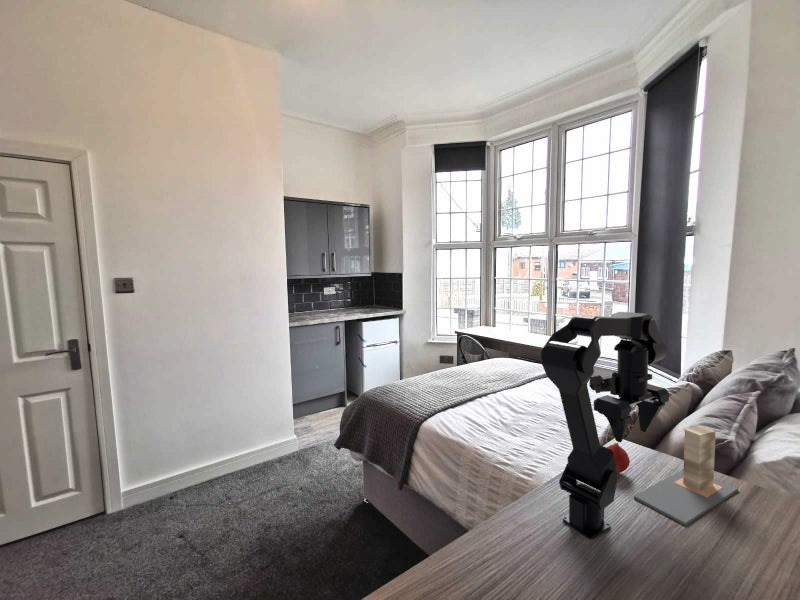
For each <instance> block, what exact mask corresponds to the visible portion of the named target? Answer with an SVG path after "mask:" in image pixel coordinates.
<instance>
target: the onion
mask: <svg viewBox="0 0 800 600" xmlns="http://www.w3.org/2000/svg"><path fill="white" fill-rule="evenodd" d="M606 448H609V449H611V450H612V451H613V453H614V461H615V463H616V465H617V466H616V467H615V468H616V472H617V475H618V474H620V473H622V472H625V471H626V470H627V469H628V468H629V467H630V465H631V463H630V461H631V460H630V456H629V455H628V453H627V452H626V450H625V449H624V448H623V447H622V446H620V444H619V442H614V443H613V444H610V445H609V446H607V447H606Z"/></svg>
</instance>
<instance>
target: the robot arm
mask: <svg viewBox="0 0 800 600" xmlns="http://www.w3.org/2000/svg"><path fill="white" fill-rule="evenodd" d="M578 336H582V337H587V338H590V340H591V341H590V342H589V344H588V346H585V345H582V344H574V343H570V342H571V341H573V340H575V339H576V338H578ZM610 336H611V337H613V336H614V337H617V338H619V339H620V341H619V342H618V343H617V344H615V345H614V347H613V350H614V351H616V352H617V370H615V371H613V372H612V373H611V375H609V376H602V375H599V374H598V375H594V372H595V369H594V367H595V365H596V363H597V361H599V359H600V356H601V346H600V343H599V342H600V341H599V340H600V339H601V337H610ZM667 354H668V347H667V345H666V343H665V342H664V341H663V339H662V336H661V333H660V331H659V328H658V325H657V322H656V320H654V319H653V315H651V314H650V313H642V312H641V313H640V312H628V311H617V312H615V313H612V314H611V316H598V315H597V316H596V315H586V314H576V315H573V316H572V317H571V318H570V320H569V321H568V323H567V324H566V325H564V326H562V327H561V328H560V329H558V330H557V331H555V332H554V333H551V336H550V337H549V338H548V340H547V341H546V342H545V345H544V346H543V347H542V349H541V352H540V361H541V362H540V363H541V364H542V367H543V370H544V372H545V375H546V377H547V378H548V379H549V380H550V381H551V382H552V383H553V384H554V387H555V386H556V388H557V389H558V392H559V397H560V400H561V404H562V407H563V412H564V417H565V421H566V424H567V429H568V433H569V437H570V440H571V446H572V450H571V451H570V452H569V455H568V457H567V463H566V464H565V465H566V466H565V467H564V469H563V472H562V474H561V476H560V478H559V481H558V484H559V487H560V490H562V491H564V492H567V493H568V494H569V497H568V502H569V503H568V507H569V508H568V514H565V515H564V516H562V521H563V522H565V523H566V524H568V526H570V527H572V528H573V529H575V530H576V531H577V532H579V533H580V534H582V535H583V536H584V537H586V538H587V539H590V540H591V539H594V538H596V537H597V536H599V535H601V534H603V533H604V532H606V531H608V530H609V529H611V528H612V524H610V523H609V522H608V521H606V520H604V519H605V508H606V507H608V506H609V505H611V504H612V503H613V502H614V501H615V495H616V490H617V485H618V481H619V477H618V474H617V472H616V468H615V467H616V466H617V465H616V463H615V461H614V453H613V451H612V450H611V449H609V448H607V447H606V446H604V445H601V443H600V439H599V438H600V437H599V433H598V429H597V425H596V421H595V415H594V411H595V412H597V413H599V414H600V415H603V417H604V416H605V418H606V419H607V421H608V424H609V426H610V428H611V431H612V434H613V437H614V439H615V441H616V443H622V441H623V440H624V437H625V435H626V433H627V430H628V427H629V424H630V421H631V420H632V419H631V418H632V416H631V413H632V406H634V405H636V406H637V411H638V421H639V429H640V431H641V432H643V433H647V432H648V430H649V428H650V426H651V425H653V422H654V420H656V417H658V414H660V412H661V410H662V409H663V408H664V407H665V406H666V403H668V402H669V401H670V393H669V391H668V390H667V389H666V387H661V386H657V385H653V384H649V381H650V380H653V374H652V373H649V365H652V364H654V363H656V362H659V361H661V360H663V359H664V358H666V356H667ZM588 383H589V384H588ZM588 386H589V388H590V389H591V390H592V391H595V394H600V393H602V392H603V393H604V392H606V393H607V392H609V394H610V395H607V394H606V395H604V396H600V397H597V398H596V399H594V400H593V405H592V402H591V395H590V393H589V388H588ZM611 395H613V396H611ZM615 396H618V397H615ZM593 410H594V411H593Z"/></svg>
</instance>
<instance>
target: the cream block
mask: <svg viewBox="0 0 800 600" xmlns="http://www.w3.org/2000/svg"><path fill="white" fill-rule="evenodd" d="M683 445H684V447H683V448H684V449H683V469H684V471H683V484H685V485H687V486H689V487H691V488H693V489H695V490H697V491H700V490H703V489H706V488H709V487H712V486H713V481H714V479H715V475H714V474H715V458H716V457H715V454H716V450H715V449H716V430H714V429H711V428H709V427H706V426H703V425H696V426H692V427H688V428H686V429H685V428H684V443H683Z"/></svg>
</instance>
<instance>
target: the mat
mask: <svg viewBox="0 0 800 600" xmlns="http://www.w3.org/2000/svg"><path fill="white" fill-rule="evenodd" d="M683 471H684V468H683V469H681V470H680V471H677V472H676V473H674V474H672V475H670V476H668V477H667V478H665V479H663V480H660V481H659V482H657V483H655V484H654V485H652V486H649V487H648V488H646V489H644V490H643V491H640V492H638V493H637V494H635V495H634V496H633V499H635V500H636V501H638V502H640V503H642V504H643V505H646V507H647V506H648V507H650V508H651V509H653V510H655V511H657V512H659V513H661V514H662V515H664V516H666V517H668V518H669V519H671V520H674V521H676V522H678V523H679V524H681V525H683V526H688V525H689V524H690V523H692V522H693V521H695V520H697V519H698V518H700V516H702V515H704V514H706V513H707V512H708V511H710V510H711V509H713V508H714V507H716V506H718V505H719V504H720V503H722V502H723V501H724V500H726V499H728V498H729V497H731V496H732V495H734V494H735V493H737V492H738V491H739V488H738V487H736V486H733V485H732V484H729V483H726V482H724V481H721V480H719V479H717V478H714V481H713V486H712V487H709V488H706V489H703V490H700V491H697V490H695V489H693V488H691V487H689V486H687V485H685V484H683Z"/></svg>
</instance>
